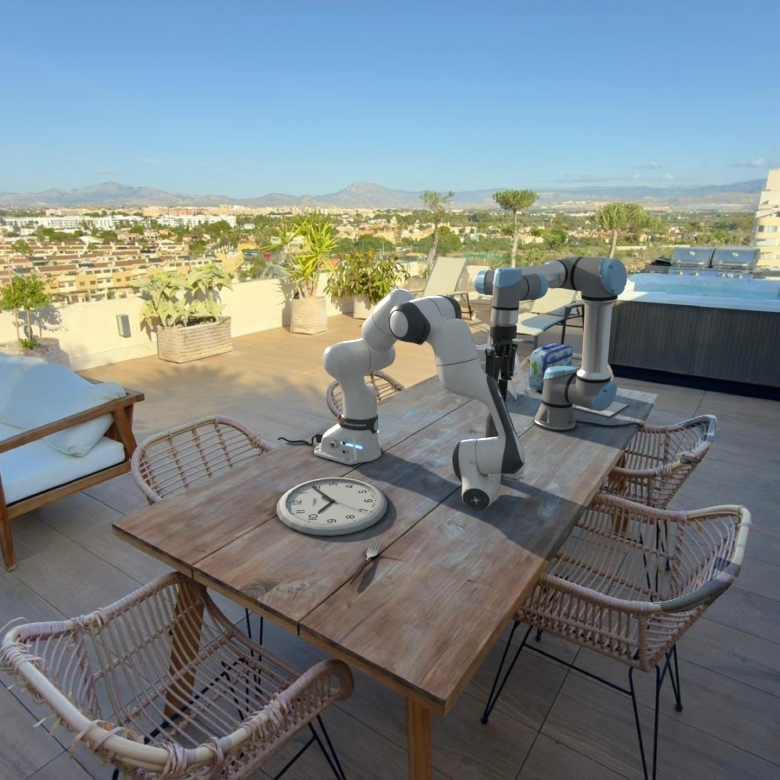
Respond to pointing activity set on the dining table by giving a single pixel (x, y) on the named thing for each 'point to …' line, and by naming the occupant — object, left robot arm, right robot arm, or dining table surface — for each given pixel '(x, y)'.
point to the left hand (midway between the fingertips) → (493, 455)
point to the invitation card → (609, 411)
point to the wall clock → (331, 506)
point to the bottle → (490, 427)
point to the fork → (370, 554)
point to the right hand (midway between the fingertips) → (497, 402)
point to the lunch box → (547, 362)
